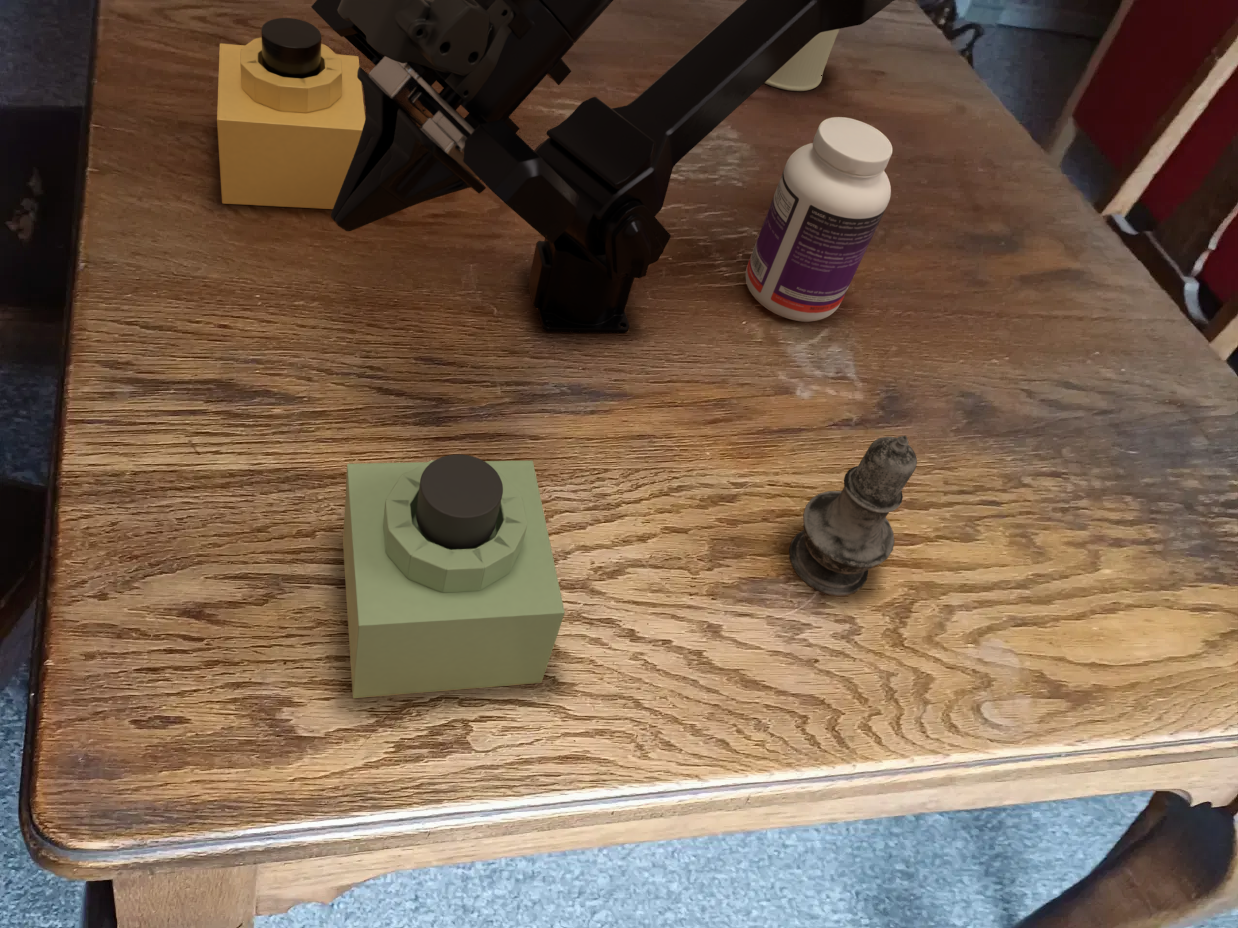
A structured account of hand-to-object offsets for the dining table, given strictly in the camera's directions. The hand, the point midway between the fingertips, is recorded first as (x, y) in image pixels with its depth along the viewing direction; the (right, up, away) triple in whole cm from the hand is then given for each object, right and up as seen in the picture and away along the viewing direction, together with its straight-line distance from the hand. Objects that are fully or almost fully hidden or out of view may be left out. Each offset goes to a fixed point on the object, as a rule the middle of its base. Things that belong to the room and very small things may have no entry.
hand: (338, 224), depth 58 cm
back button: (-8, +15, +18) cm, 25 cm away
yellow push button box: (-10, +10, +25) cm, 28 cm away
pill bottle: (+29, +1, +28) cm, 40 cm away
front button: (+7, -16, -5) cm, 18 cm away
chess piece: (+29, -19, +11) cm, 36 cm away
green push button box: (+5, -21, +2) cm, 22 cm away
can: (+32, +28, +54) cm, 69 cm away
